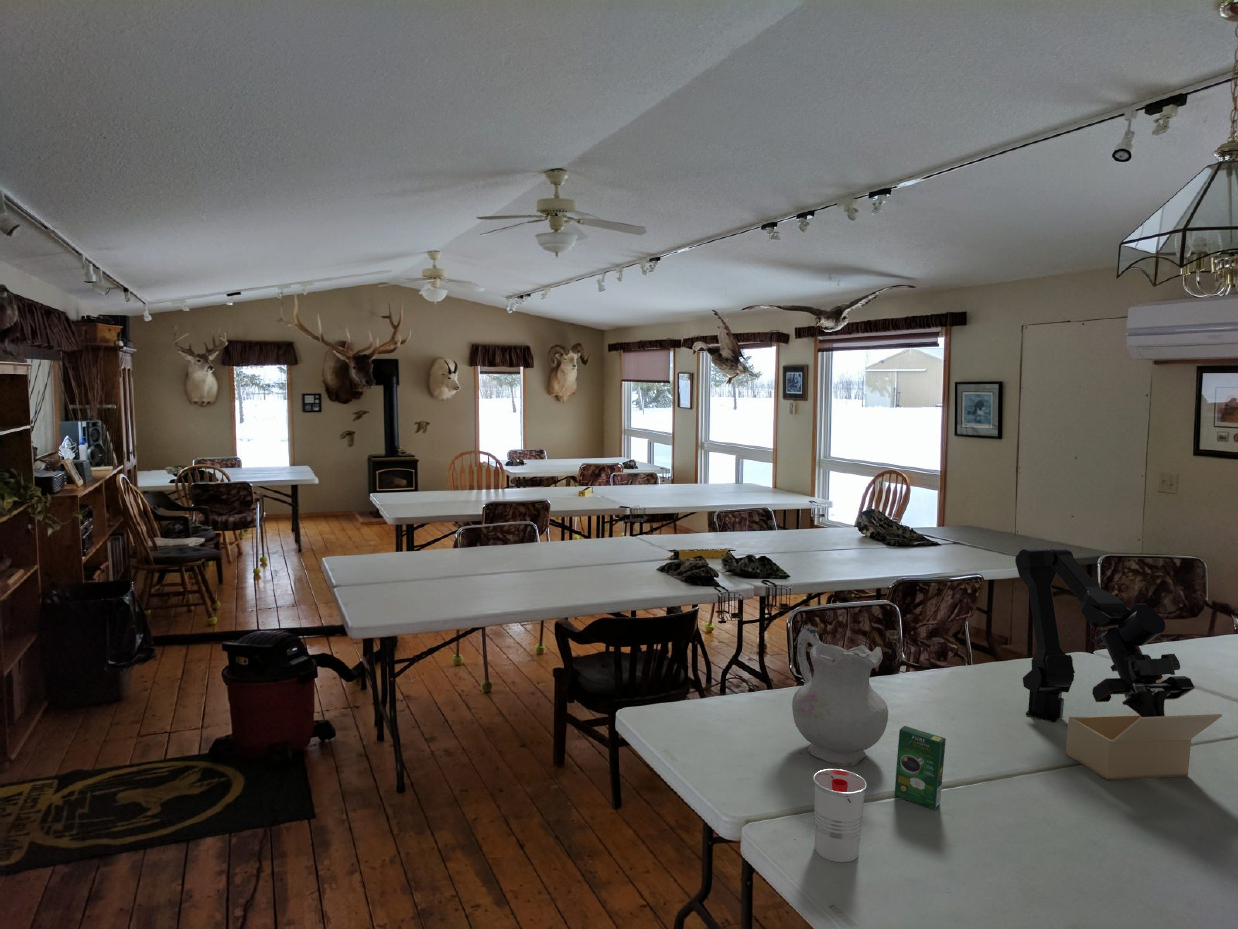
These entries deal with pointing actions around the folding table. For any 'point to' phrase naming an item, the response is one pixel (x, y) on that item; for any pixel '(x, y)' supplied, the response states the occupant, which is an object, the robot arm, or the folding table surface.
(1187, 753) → the carton
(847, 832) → the striped cup with float
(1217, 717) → the carton flap
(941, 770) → the coffee box
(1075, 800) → the folding table surface
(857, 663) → the ceramic pitcher
